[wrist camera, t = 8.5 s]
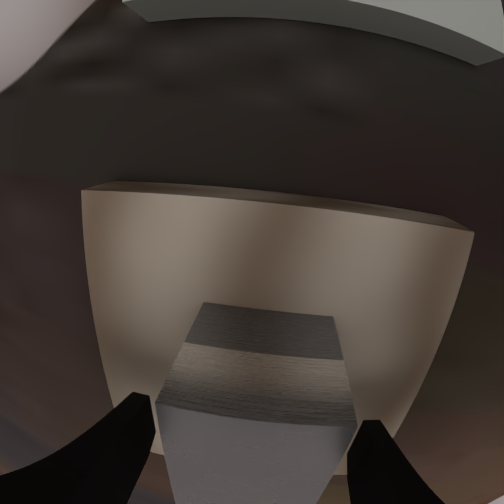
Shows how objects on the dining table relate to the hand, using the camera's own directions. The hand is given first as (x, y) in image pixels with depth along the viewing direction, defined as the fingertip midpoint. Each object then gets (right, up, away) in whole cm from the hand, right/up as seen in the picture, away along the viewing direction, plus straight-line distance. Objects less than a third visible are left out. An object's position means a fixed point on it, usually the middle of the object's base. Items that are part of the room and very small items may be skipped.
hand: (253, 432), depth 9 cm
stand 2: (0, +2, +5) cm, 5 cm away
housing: (0, +1, +2) cm, 3 cm away
